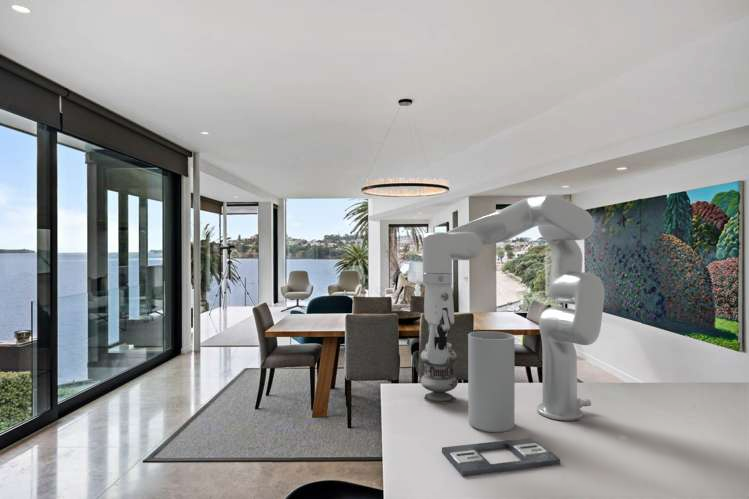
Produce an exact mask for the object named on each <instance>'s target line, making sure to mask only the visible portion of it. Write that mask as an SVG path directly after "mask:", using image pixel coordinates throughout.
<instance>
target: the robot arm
mask: <svg viewBox="0 0 749 499" xmlns="http://www.w3.org/2000/svg"><path fill="white" fill-rule="evenodd" d="M535 227H537V229H538V232H539V234H540V236H541V237H542V238H543V239H544V241H545V243H547V245H548V247H549V248H550V252H551V267H550V273H549V274H550V275H549V281H548V295H549V297H550V298H551V299H552V301H555V302H557V303H559V304H560V303H562V304H566V305H567V304H568V305H574V307H575V308H574V309H573V308H567V307H561V306H550V307H548V308H546V309H544V310H543V311H542V312H541V313H540V315H539V319H538V327H539V333H540V338H541V345H542V347H541V348H542V402H541V403H540V404H538V405H537V406H536V412H537V413H538V414H540V415H542V416H543V417H546V418H548V419H552V420H557V421H565V422H566V421H567V422H568V421H577V420H580V419H582V418H583V417H584V416H583V415H584V414H583V411H582V410H581V409H582V408H583V407H590V406H592V401H591V400H590V399H582V398H580V397H578V355H577V350H576V347H575V345H574V344H576V345H581V346H591V345H592V344H594V343H595V342H596V341H597V339H598V338H599V337H600V336H599V335H600V333H601V327H602V321H603V320H602V319H603V311H604V304H605V303H604V302H605V294H606V293H605V286H604V284H603V281H602V280H601V277H599V276H598V275H596V274H593V273H591V272H583V252H582V250H581V248H580V245H579V244H578V242H577V241H583V240H585V239H588V238H589V237H591V235H592V234H593V233H594V230H595V220H594V218H593V217H592V215H591V214H590V212H588V210H585V209H584V208H582V207H581V206H578V205H576V204H574V203H573V202H571V201H568V200H567V199H565V198H563V197H561V196H559V195H555V194H543V195H537V196H530V197H526V198H523V199H521V200H519V201H517V202H515V203H513V204H510V205H507V206H506V207H505V208H502V209H500V210H498V211H495V212H493V213H490V214H488V215H484V216H482V217H480V218H477V219H475V220H471V221H469V222H466V223H464V224H461V225H458V226H456V227H454V228H452V229H449V230H448V231H446V232H444V231H443V232H440V231H439V232H437V231H436V232H433V231H432V232H426V233H424V235H423V236H422V237H423V238H422V286H423V287H424V296H423V297H424V298H423V300H424V301H423V302H424V303H423V315H424V320H425V321H427V324H428V334H430V328H431V323H432V324H435V335H436V337H434V346H435V349H436V345H437V343H438V348H439V349H440V350H444V349H445V347H446V351H447V343H448V342H447V338H448V331H449V330H450V328H451V326H452V325H454V323H455V309H454V308H455V307H454V306H455V305H454V304H455V303H454V295H453V294H454V293H453V288H452V286H453V260H454V261H455V260H457V261H471V260H475V259H476V258H478V257H479V256H480V255H481V254H482V253H483V250H484V246H485V245H491V244H498V243H502V242H507V241H509V240H511V239H513V238H515V237H516V236H519V235H521V234H523V233H525V232H527V231H529V230H531V229H533V228H535ZM429 319H430V320H429ZM440 322H442V323H443V324H439V323H440ZM439 327H442V328H440V329H439Z"/></svg>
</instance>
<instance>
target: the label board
mask: <svg viewBox="0 0 749 499" xmlns="http://www.w3.org/2000/svg"><path fill="white" fill-rule="evenodd" d="M501 449H502V450H503V449H507V450H508V451H510V453H511V454H513V455H514V456H516V457H517V458H518V459H519V460H515V461H507V462H497V463H491V462H489V461H488V459H486V457H485V456H483V455H482V454H481V453H480V452H484V451H492V450H501ZM441 454H442V455H444V457H445V458H446V459H447V460H448V461H449V463H450V464H451V465H452V467H454V469H456V471H457V472H458V474H460V476H461V477H462V478H463V477H473V476H481V475H487V474H489V475H490V474H495V473H502V472H503V473H504V472H511V471H520V470H529V469H535V468H536V469H537V468H541V467H542V468H543V467H549V466H559V465H561V458H560V457H558V456H556V455H555V454H554V453H552V452H551V451H549V450H548V449H547V448H546V447H544V446H542V445H541V444H540V443H539V442H538V441H536V440H534V439H533V438H531V437H525V438H517V439H515V438H513V439H508V440H498V441H497V440H496V441H490V442H489V441H488V442H480V443H479V442H478V443H470V444H462V445H453V446H452V445H451V446H444V447H443V446H442V447H441Z"/></svg>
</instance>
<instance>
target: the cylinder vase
mask: <svg viewBox="0 0 749 499" xmlns="http://www.w3.org/2000/svg"><path fill="white" fill-rule="evenodd" d="M467 339H468V340H467V342H468V343H467V346H468V350H467V351H468V352H467V356H468V357H467V358H468V362H467V363H468V364H467V366H468V367H467V369H468V374H467V375H468V376H467V378H468V383H467V384H468V386H467V388H468V389H467V390H468V392H467V393H468V395H467V397H468V399H467V403H468V404H467V405H468V408H467V410H468V412H467V413H468V414H467V415H468V423H469V424H470V426H471V427H473V428H475V429H477V430H479V431H483V432H487V433H497V434H498V433H506V432H509V431H510V430H513V429H514V427H515V425H516V424H515V423H516V422H515V419H516V418H515V406H516V404H515V402H516V401H515V398H516V397H515V396H516V394H515V393H516V392H515V386H516V385H515V382H516V381H515V369H516V368H515V335H513V334H512V333H509V332H508V333H507V332H503V331H493V330H492V331H490V330H489V331H488V330H485V331H484V330H483V331H480V330H479V331H473V332H470V333H468V336H467Z"/></svg>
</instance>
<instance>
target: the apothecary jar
mask: <svg viewBox="0 0 749 499" xmlns="http://www.w3.org/2000/svg"><path fill="white" fill-rule="evenodd" d="M427 346H428V342H427V343H426V344H425V348H424V350H422V351H421V353H420V358H421V361H423V362H424V364H423V365H424V373H423V374H424V375H422V376H421V379H420V384H421V386H422V387H423V388H424V389H425V390H428V391H429V392H428V393H426V394H425V395H424V397H423V398H424V400H425V401H427V402H429V403H433V404H441V405H443V404H449V403H452V402H453V401H455V397H454V395H452V394H451V393H449V392H450V391H453V390H454V389H456V387H457V386H458V382H459V381H458V378H457V376H456V375H454V372H455V371H454V362H456V361H457V358H458V355H457V353H456V351H455V350H454V349H453V346H452V343H450V342H447V346H448V352H449V355H448V358H447V361H446V363H444V364H432V363H430V362H429V360H428V357H427V355H426V352H427Z"/></svg>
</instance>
